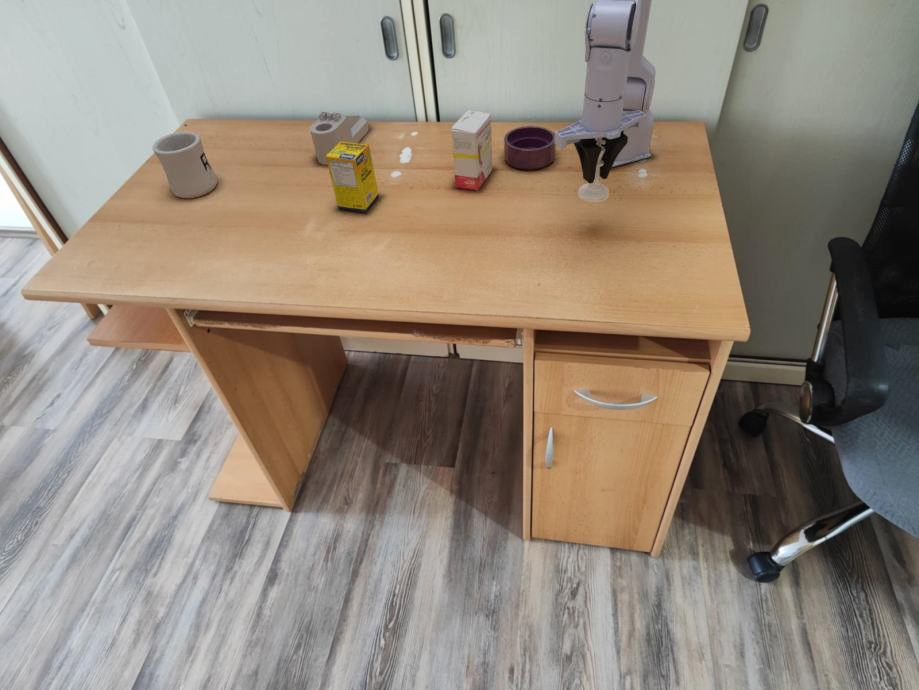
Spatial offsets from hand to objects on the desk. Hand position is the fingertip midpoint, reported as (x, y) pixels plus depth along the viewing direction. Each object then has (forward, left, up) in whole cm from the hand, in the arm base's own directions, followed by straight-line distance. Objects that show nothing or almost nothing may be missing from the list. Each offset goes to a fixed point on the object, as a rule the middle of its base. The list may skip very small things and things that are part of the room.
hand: (595, 178), depth 94 cm
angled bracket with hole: (+31, -52, -10) cm, 61 cm away
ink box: (+11, -25, -10) cm, 29 cm away
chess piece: (0, 0, -3) cm, 3 cm away
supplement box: (+34, -27, -10) cm, 45 cm away
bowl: (-2, -27, -10) cm, 29 cm away
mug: (+63, -50, -10) cm, 81 cm away
